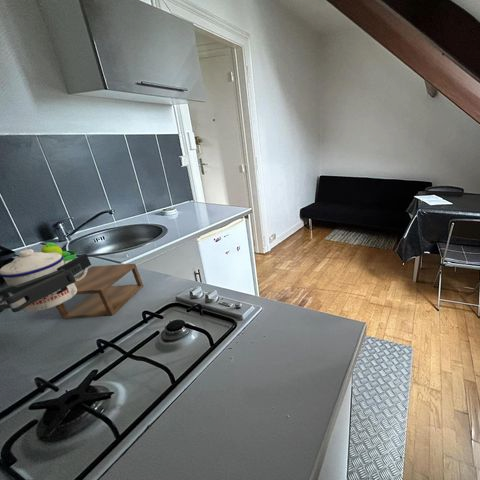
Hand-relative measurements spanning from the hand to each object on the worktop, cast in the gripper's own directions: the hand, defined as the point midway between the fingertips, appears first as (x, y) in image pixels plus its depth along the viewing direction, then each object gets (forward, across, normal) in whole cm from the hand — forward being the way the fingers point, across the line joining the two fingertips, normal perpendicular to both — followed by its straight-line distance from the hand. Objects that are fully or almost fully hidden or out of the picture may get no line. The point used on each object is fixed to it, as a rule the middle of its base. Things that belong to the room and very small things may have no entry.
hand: (62, 261), depth 58 cm
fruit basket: (+33, +38, +18) cm, 53 cm away
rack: (+11, +4, +18) cm, 21 cm away
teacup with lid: (-4, 0, +7) cm, 8 cm away
